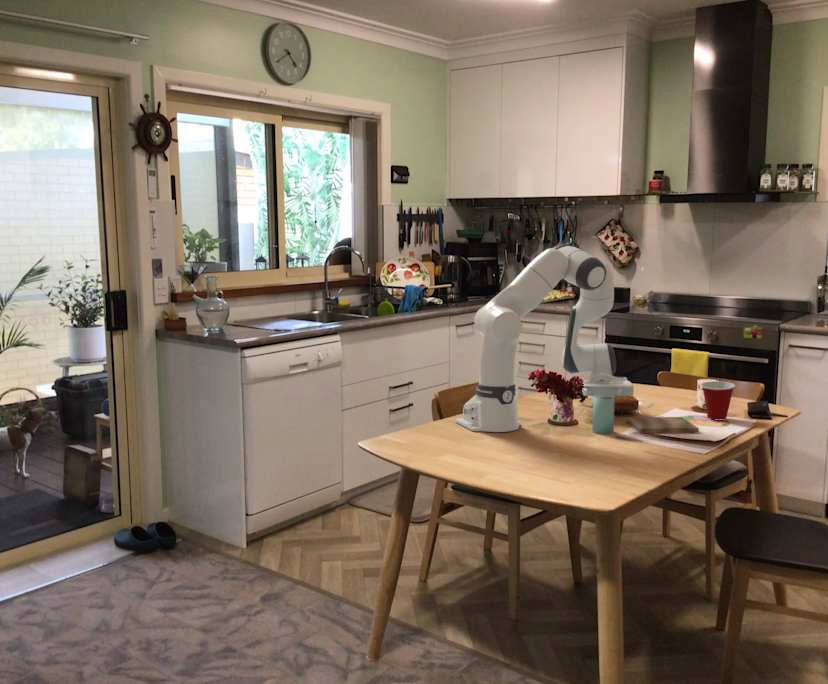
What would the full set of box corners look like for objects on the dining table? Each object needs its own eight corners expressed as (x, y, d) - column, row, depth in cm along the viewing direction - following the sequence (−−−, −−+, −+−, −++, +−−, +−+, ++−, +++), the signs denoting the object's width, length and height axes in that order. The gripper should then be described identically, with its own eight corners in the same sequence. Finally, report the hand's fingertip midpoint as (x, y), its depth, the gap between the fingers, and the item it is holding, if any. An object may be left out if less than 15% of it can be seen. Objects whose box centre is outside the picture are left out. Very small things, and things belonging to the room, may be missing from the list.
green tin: (588, 431, 253) (588, 396, 252) (603, 428, 256) (604, 394, 255) (602, 435, 247) (603, 399, 246) (617, 432, 251) (618, 397, 249)
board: (640, 433, 250) (640, 428, 250) (627, 421, 266) (627, 417, 266) (698, 432, 250) (698, 428, 250) (681, 421, 266) (681, 417, 266)
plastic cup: (693, 418, 270) (694, 383, 269) (709, 414, 278) (710, 379, 276) (723, 424, 262) (725, 387, 261) (739, 419, 269) (741, 383, 268)
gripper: (570, 376, 277) (570, 383, 264) (631, 377, 274) (635, 384, 260) (570, 394, 278) (570, 402, 265) (631, 395, 274) (634, 403, 261)
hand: (602, 393), depth 262 cm, fingers open, 8 cm apart
